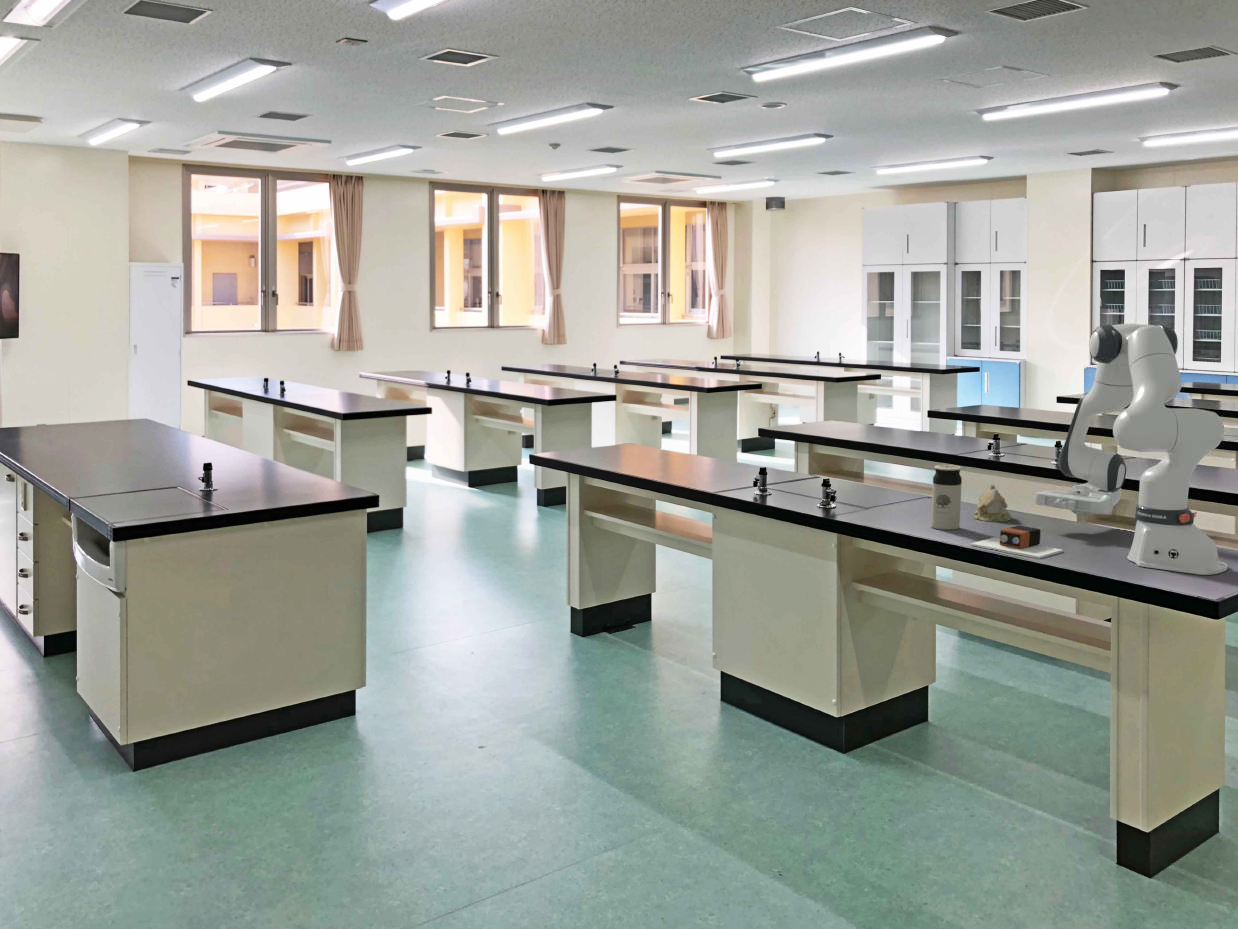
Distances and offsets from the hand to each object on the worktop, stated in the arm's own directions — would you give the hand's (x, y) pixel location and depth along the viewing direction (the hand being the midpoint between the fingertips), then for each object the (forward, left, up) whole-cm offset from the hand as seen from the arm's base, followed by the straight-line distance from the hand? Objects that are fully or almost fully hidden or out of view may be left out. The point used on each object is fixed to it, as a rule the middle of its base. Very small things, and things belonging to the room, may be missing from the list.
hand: (1058, 505), depth 306 cm
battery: (0, +14, -6) cm, 16 cm away
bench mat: (0, +22, -9) cm, 23 cm away
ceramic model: (+28, -13, -10) cm, 32 cm away
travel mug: (+28, +12, -9) cm, 32 cm away
